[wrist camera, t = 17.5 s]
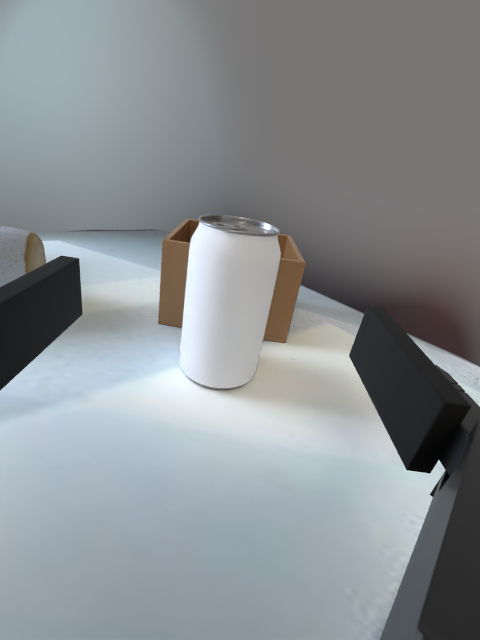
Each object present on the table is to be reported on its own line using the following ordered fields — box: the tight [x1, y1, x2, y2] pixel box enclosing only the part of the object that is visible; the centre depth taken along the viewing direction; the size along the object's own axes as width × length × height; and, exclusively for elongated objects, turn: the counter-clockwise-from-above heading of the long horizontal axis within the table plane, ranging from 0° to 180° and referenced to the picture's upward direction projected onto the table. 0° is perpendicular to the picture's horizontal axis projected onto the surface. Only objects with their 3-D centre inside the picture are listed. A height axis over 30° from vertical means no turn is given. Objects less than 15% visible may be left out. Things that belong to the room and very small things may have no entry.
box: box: [158, 218, 306, 343], centre depth 36 cm, size 12×13×8 cm
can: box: [180, 214, 281, 390], centre depth 25 cm, size 6×6×12 cm
